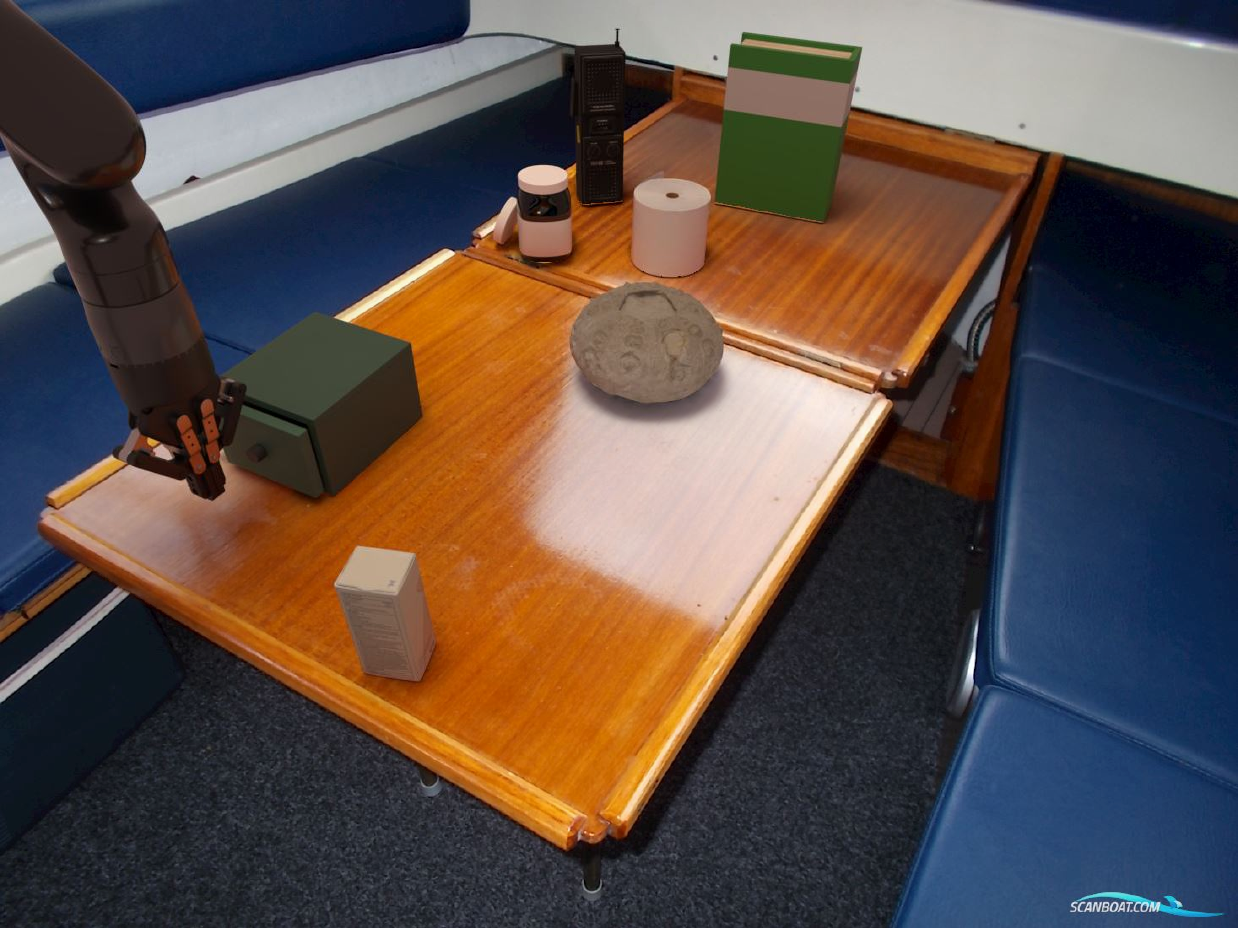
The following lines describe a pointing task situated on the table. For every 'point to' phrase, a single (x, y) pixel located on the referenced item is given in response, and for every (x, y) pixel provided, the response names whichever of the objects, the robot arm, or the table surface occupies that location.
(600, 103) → the portable radio
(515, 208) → the spread jar
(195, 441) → the robot arm
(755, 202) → the hardback book
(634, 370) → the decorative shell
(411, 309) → the table surface
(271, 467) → the drawer
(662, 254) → the toilet tissue
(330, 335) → the cabinet
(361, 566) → the box
